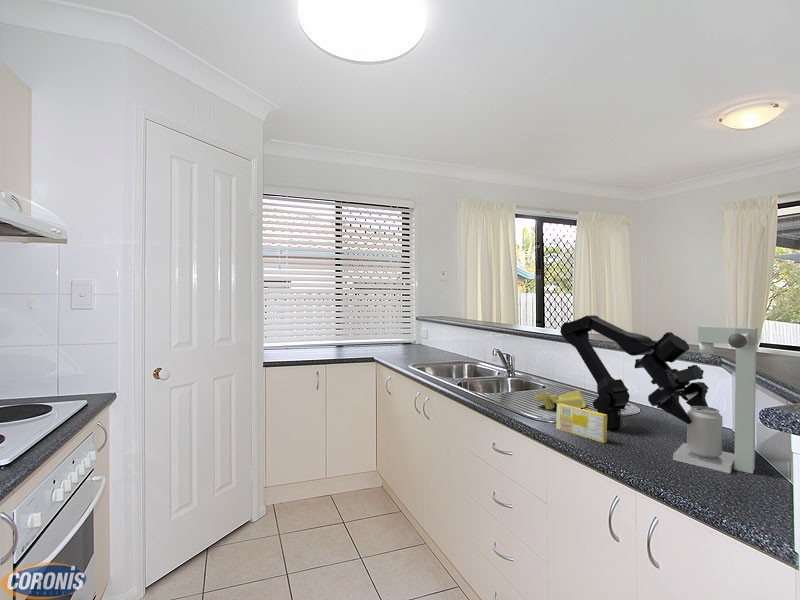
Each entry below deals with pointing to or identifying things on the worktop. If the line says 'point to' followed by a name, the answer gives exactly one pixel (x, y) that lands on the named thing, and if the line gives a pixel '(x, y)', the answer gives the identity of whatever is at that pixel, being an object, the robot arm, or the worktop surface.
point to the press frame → (738, 385)
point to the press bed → (705, 459)
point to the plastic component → (562, 399)
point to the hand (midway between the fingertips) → (701, 421)
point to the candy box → (582, 422)
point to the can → (704, 432)
